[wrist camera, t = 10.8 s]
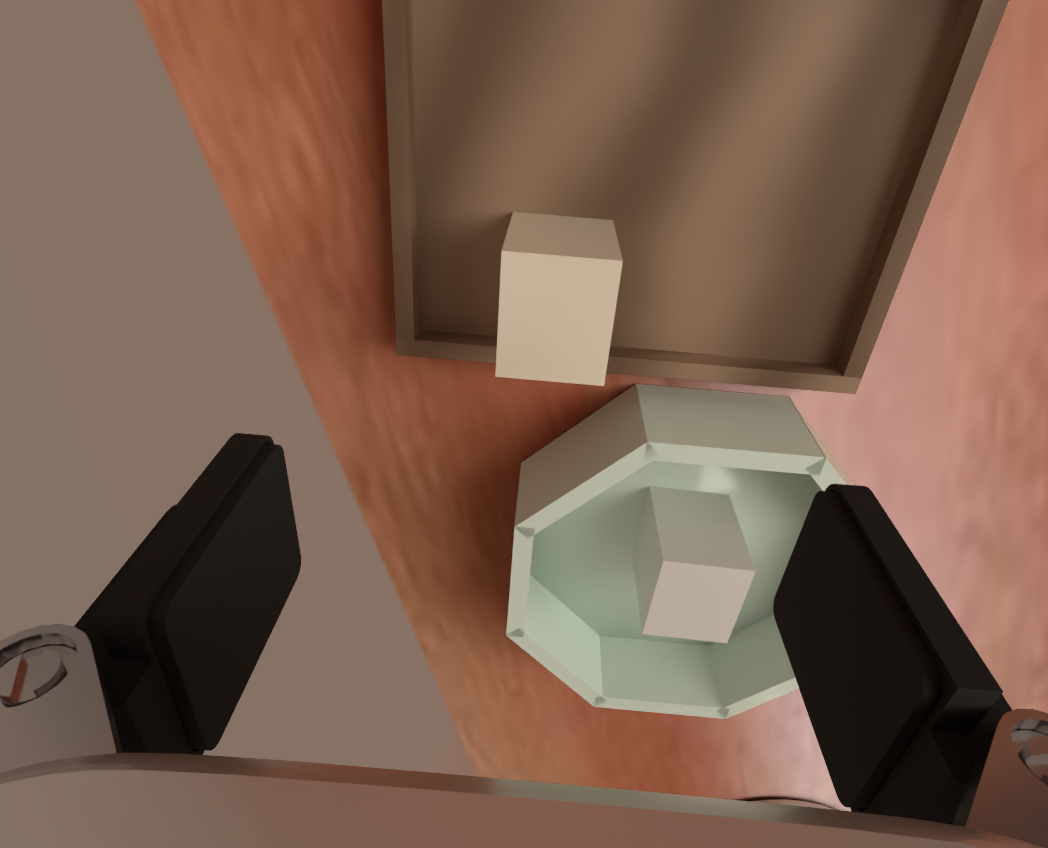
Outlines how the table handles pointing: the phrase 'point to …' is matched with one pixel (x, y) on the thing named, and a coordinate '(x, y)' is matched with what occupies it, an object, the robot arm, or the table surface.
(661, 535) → the light grey block
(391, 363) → the table surface
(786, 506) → the celadon bowl
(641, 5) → the walnut tray
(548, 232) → the beige upright box
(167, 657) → the robot arm
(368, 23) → the table surface
